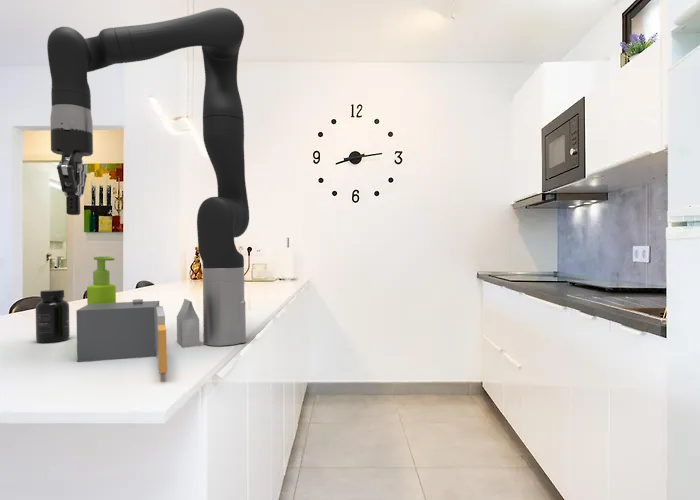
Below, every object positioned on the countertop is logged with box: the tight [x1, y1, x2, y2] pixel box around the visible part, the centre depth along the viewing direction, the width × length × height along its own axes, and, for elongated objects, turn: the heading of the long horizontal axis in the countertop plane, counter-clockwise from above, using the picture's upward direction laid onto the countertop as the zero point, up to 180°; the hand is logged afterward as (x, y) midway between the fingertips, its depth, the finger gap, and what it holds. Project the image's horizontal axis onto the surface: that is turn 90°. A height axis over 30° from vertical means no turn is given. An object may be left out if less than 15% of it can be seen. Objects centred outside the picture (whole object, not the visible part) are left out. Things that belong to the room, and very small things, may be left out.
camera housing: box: [75, 298, 160, 363], centre depth 100 cm, size 14×13×11 cm
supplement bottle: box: [35, 289, 71, 344], centre depth 113 cm, size 7×7×12 cm
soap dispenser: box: [86, 255, 117, 305], centre depth 110 cm, size 6×7×20 cm
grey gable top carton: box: [176, 298, 201, 348], centre depth 108 cm, size 4×7×10 cm, turn 29°
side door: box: [156, 305, 168, 374], centre depth 87 cm, size 21×1×10 cm, turn 23°
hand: (73, 214), depth 98 cm, fingers closed
